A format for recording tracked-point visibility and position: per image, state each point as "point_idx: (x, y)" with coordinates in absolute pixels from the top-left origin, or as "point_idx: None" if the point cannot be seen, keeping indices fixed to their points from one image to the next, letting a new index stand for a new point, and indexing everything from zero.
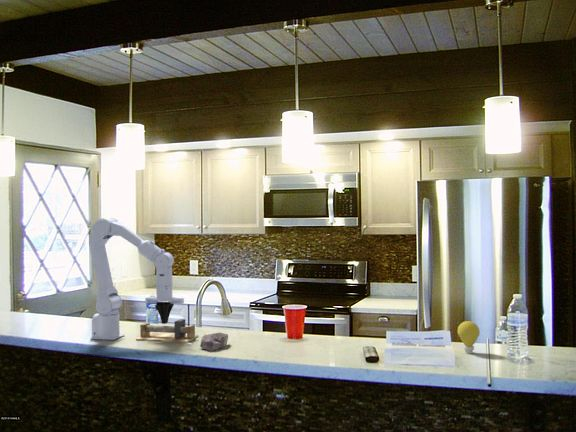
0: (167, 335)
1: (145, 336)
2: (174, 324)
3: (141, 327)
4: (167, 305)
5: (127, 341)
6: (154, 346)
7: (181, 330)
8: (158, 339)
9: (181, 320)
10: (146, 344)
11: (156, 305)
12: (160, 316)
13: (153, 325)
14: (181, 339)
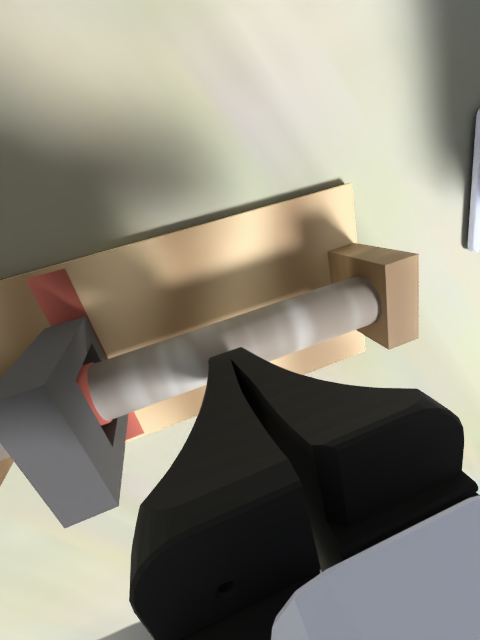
0: None
1: (329, 265)
2: (54, 366)
3: (392, 253)
4: (136, 562)
5: (375, 125)
6: (46, 39)
7: None
8: (182, 235)
9: (33, 470)
10: (179, 90)
11: (420, 413)
12: (271, 366)
13: (325, 323)
14: (15, 324)
